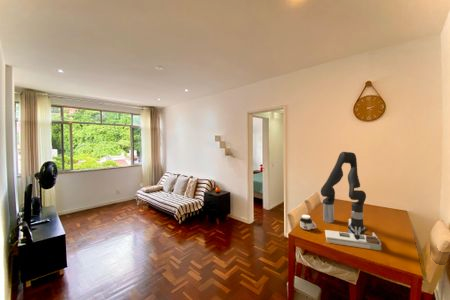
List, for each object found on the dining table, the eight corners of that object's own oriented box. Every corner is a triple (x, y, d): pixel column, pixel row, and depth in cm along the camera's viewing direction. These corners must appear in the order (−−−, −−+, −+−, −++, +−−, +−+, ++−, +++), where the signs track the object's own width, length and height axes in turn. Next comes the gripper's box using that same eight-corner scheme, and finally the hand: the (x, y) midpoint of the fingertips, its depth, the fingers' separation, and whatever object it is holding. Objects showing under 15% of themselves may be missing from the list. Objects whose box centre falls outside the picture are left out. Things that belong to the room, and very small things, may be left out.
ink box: (352, 235, 158) (352, 221, 157) (348, 232, 163) (348, 218, 162) (362, 234, 158) (362, 220, 158) (358, 231, 164) (358, 218, 163)
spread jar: (298, 228, 174) (298, 215, 173) (305, 224, 181) (304, 212, 180) (311, 233, 165) (311, 219, 164) (318, 228, 172) (317, 215, 171)
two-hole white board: (325, 232, 164) (325, 226, 164) (373, 239, 151) (373, 232, 151) (326, 242, 150) (326, 235, 149) (381, 250, 136) (381, 243, 136)
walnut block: (365, 240, 146) (365, 235, 145) (375, 241, 143) (375, 236, 143) (368, 244, 140) (368, 239, 140) (378, 245, 138) (378, 240, 137)
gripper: (366, 215, 145) (366, 238, 146) (345, 213, 150) (345, 235, 152) (369, 219, 138) (369, 243, 140) (347, 217, 144) (347, 240, 145)
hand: (357, 239), depth 146 cm, fingers closed
